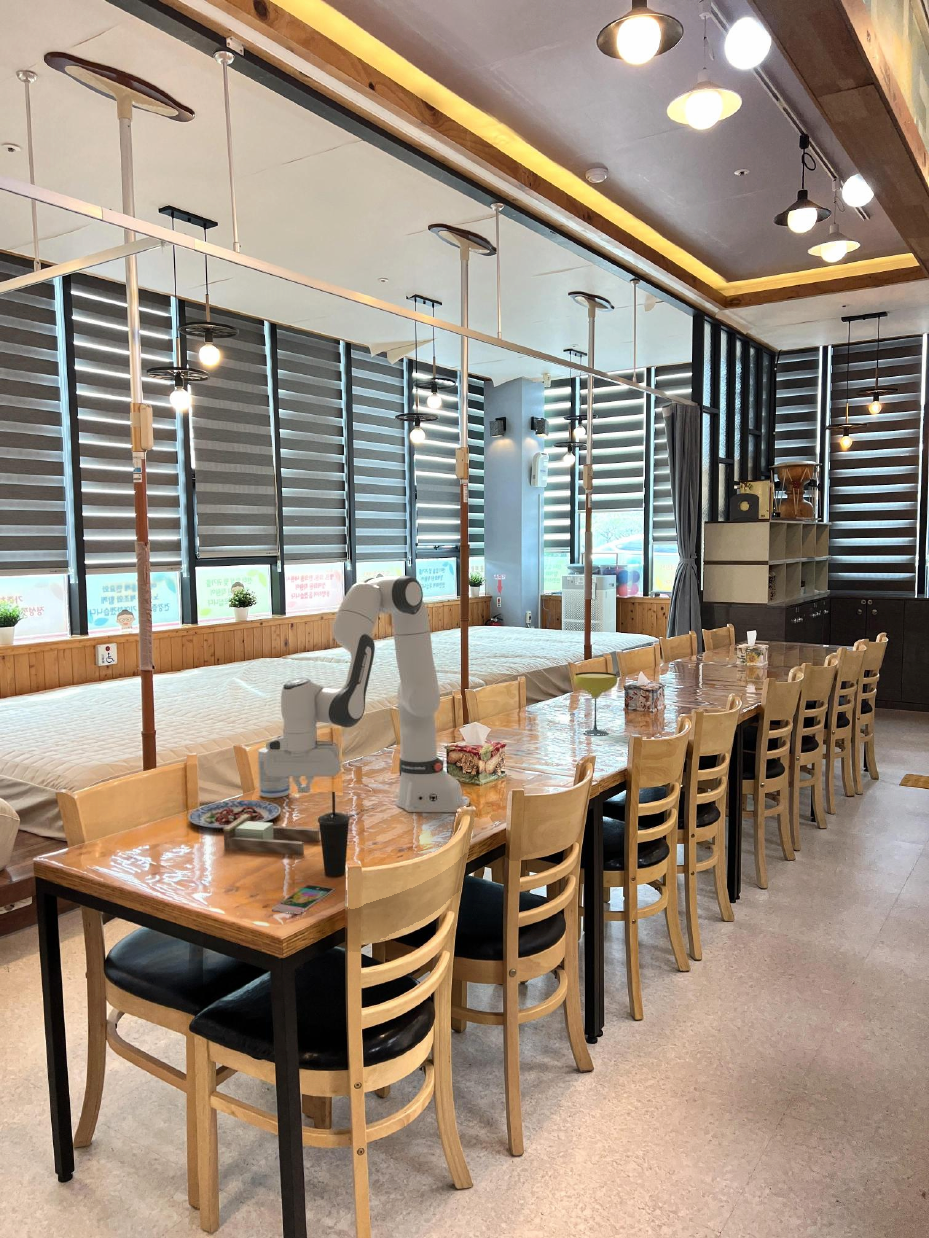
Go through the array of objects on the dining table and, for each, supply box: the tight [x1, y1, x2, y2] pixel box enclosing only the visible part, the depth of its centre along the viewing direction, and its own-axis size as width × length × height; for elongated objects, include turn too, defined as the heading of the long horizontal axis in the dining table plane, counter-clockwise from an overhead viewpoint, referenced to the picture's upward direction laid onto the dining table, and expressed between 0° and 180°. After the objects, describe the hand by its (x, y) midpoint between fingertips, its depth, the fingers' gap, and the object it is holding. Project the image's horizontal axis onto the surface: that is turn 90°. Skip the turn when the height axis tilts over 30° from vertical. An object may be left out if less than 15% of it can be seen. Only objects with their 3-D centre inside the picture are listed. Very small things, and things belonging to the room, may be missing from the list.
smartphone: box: [271, 884, 335, 914], centre depth 192 cm, size 7×1×15 cm
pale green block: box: [235, 821, 274, 840], centre depth 229 cm, size 8×7×5 cm
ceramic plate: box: [188, 799, 282, 829], centre depth 250 cm, size 26×26×3 cm
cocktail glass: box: [573, 671, 618, 735], centre depth 364 cm, size 18×18×25 cm
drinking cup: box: [317, 791, 351, 878], centre depth 206 cm, size 8×8×20 cm
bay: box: [222, 814, 321, 856], centre depth 228 cm, size 22×12×6 cm, turn 77°
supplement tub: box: [257, 746, 291, 799], centre depth 275 cm, size 10×10×15 cm
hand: (304, 792), depth 228 cm, fingers closed
